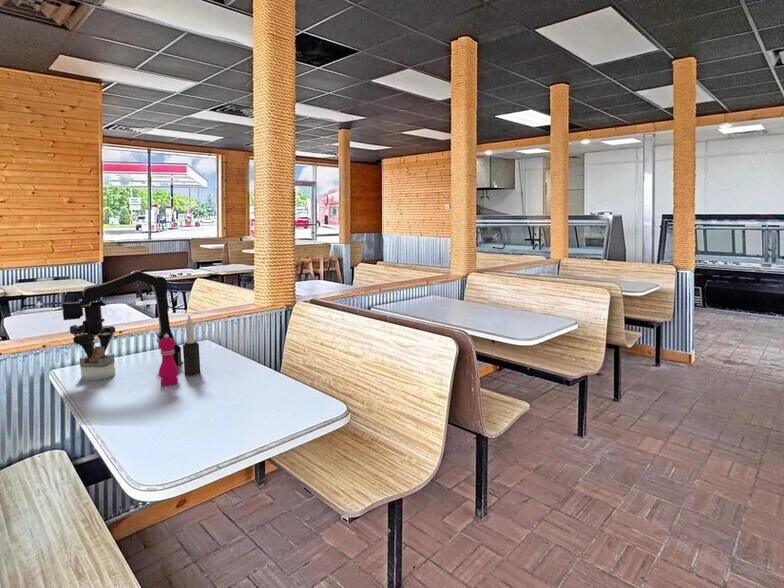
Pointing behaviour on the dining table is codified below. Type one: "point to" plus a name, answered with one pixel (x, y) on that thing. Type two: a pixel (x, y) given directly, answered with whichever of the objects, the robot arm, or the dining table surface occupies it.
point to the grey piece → (98, 372)
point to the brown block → (97, 354)
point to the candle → (191, 351)
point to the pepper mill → (168, 362)
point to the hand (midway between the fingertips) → (97, 354)
